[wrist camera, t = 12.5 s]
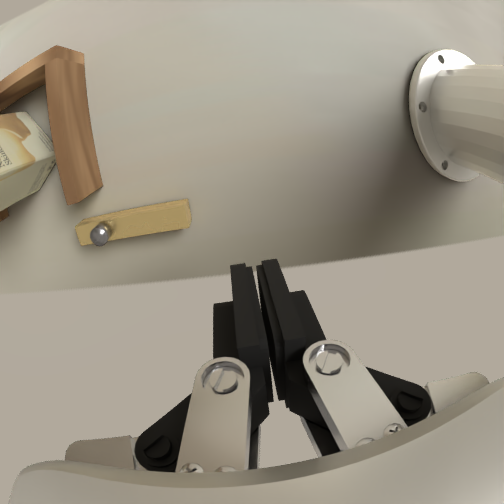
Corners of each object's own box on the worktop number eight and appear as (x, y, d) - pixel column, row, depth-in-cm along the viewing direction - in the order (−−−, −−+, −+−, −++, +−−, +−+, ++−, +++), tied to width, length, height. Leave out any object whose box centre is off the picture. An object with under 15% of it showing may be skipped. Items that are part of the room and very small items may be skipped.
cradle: (83, 53, 13) (56, 45, 9) (103, 185, 18) (78, 202, 15) (-17, 114, 13) (-44, 120, 9) (3, 217, 18) (-21, 235, 14)
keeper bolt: (187, 198, 19) (182, 210, 17) (191, 219, 20) (187, 233, 17) (83, 219, 19) (68, 232, 16) (89, 237, 20) (75, 251, 17)
